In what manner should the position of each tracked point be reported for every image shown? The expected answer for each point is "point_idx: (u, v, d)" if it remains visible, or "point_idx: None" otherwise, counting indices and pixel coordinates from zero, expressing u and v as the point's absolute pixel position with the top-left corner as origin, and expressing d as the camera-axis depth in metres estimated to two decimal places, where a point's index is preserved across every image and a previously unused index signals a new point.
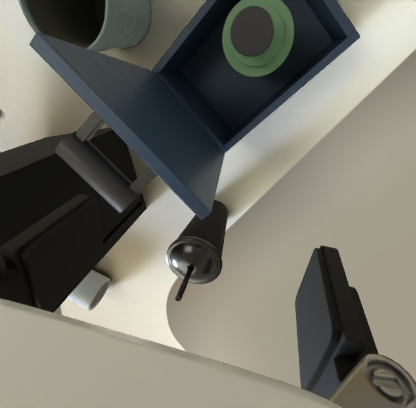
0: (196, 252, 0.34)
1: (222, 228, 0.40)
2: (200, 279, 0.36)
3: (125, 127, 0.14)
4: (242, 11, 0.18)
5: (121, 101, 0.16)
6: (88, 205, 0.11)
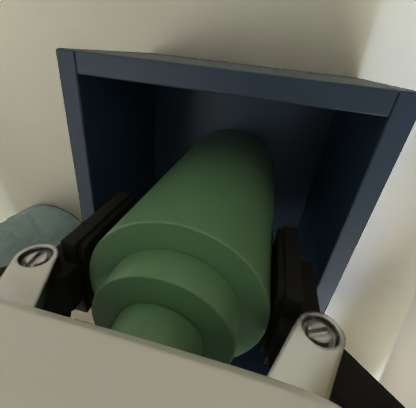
0: None
1: None
2: None
3: None
4: None
5: None
6: (130, 202, 0.11)
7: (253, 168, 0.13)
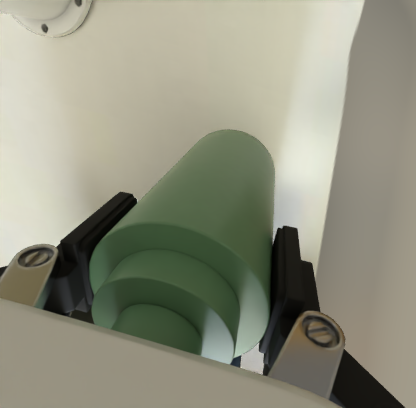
0: None
1: None
2: None
3: None
4: None
5: None
6: (130, 202, 0.11)
7: (253, 168, 0.13)
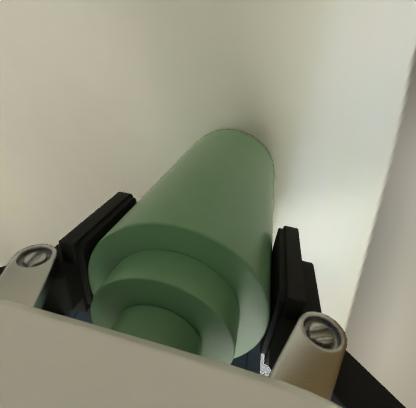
0: None
1: None
2: None
3: None
4: None
5: None
6: (129, 202, 0.11)
7: (253, 168, 0.13)
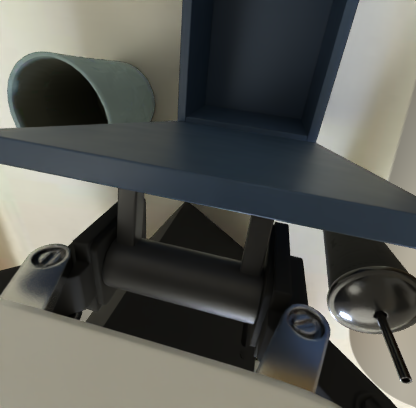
0: (373, 288, 0.21)
1: None
2: (404, 323, 0.22)
3: (167, 174, 0.07)
4: None
5: (145, 147, 0.09)
6: None
7: None
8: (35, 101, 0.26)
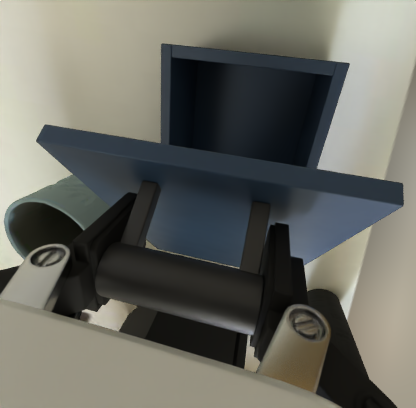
0: None
1: (344, 333, 0.30)
2: None
3: (195, 151, 0.09)
4: None
5: None
6: None
7: None
8: (30, 220, 0.28)
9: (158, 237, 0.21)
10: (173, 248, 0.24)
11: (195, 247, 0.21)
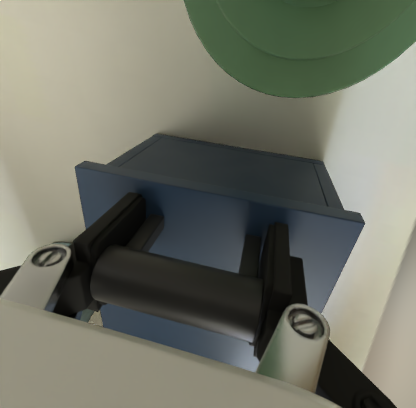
0: None
1: None
2: None
3: (204, 184, 0.12)
4: None
5: None
6: (139, 202, 0.11)
7: None
8: None
9: None
10: None
11: None
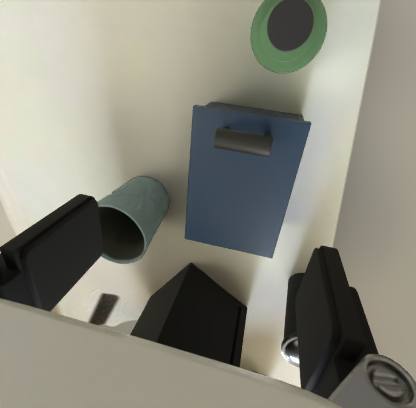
0: None
1: None
2: None
3: None
4: (270, 17, 0.18)
5: None
6: (88, 205, 0.11)
7: None
8: None
9: (198, 206, 0.35)
10: (200, 228, 0.37)
11: (219, 215, 0.35)
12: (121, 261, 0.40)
